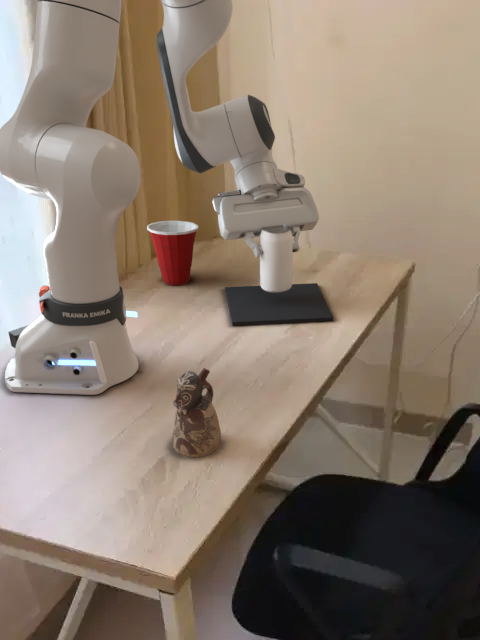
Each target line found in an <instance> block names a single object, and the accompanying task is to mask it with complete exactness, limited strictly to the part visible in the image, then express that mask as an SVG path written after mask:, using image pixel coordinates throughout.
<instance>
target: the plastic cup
mask: <svg viewBox="0 0 480 640" xmlns="http://www.w3.org/2000/svg"><path fill="white" fill-rule="evenodd" d="M198 230H199V225H198V224H196V223H195V222H191V221H184V220H161V221H156V222H151V223H150V224H148V225H147V226H146V231H148V233H149V236H150V238H151V242H152V245H153V248H154V252H155V257H156V260H157V264H158V267H159V271H160V276H161V279H162V280H163V283H164V284H165V285H170V286H183V285H185V284H188V283H189V282H190V279H191V271H192V266H193V256H194V255H193V254H194V245H195V238H196V235H197V231H198Z"/></svg>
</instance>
